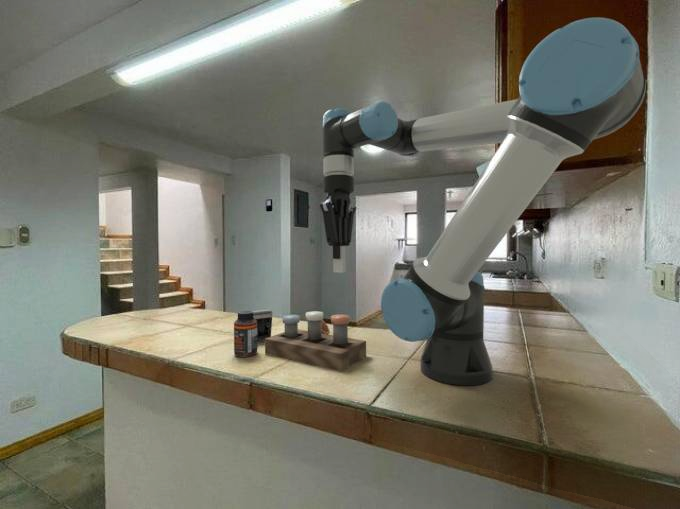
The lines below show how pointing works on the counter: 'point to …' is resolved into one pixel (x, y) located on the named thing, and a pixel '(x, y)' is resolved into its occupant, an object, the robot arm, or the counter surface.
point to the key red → (340, 328)
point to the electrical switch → (263, 323)
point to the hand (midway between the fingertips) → (339, 272)
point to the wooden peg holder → (316, 350)
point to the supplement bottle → (245, 334)
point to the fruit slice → (324, 327)
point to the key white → (314, 324)
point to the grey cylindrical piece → (291, 325)
